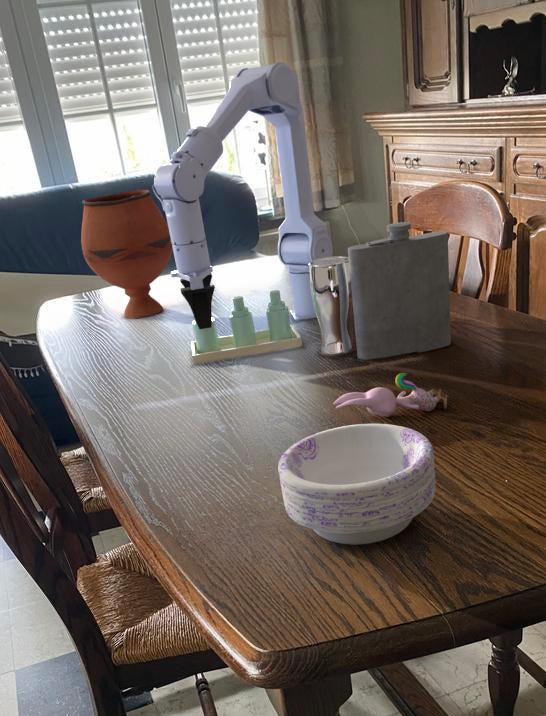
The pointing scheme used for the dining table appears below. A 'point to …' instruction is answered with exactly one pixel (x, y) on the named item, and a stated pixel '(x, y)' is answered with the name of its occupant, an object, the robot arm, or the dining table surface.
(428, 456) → the paper bowls
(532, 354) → the dining table surface
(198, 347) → the loose bottle
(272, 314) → the bottle
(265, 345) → the tray
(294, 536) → the dining table surface
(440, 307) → the hip flask
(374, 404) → the rabbit figure
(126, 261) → the goblet
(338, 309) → the beer glass
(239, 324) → the bottle
